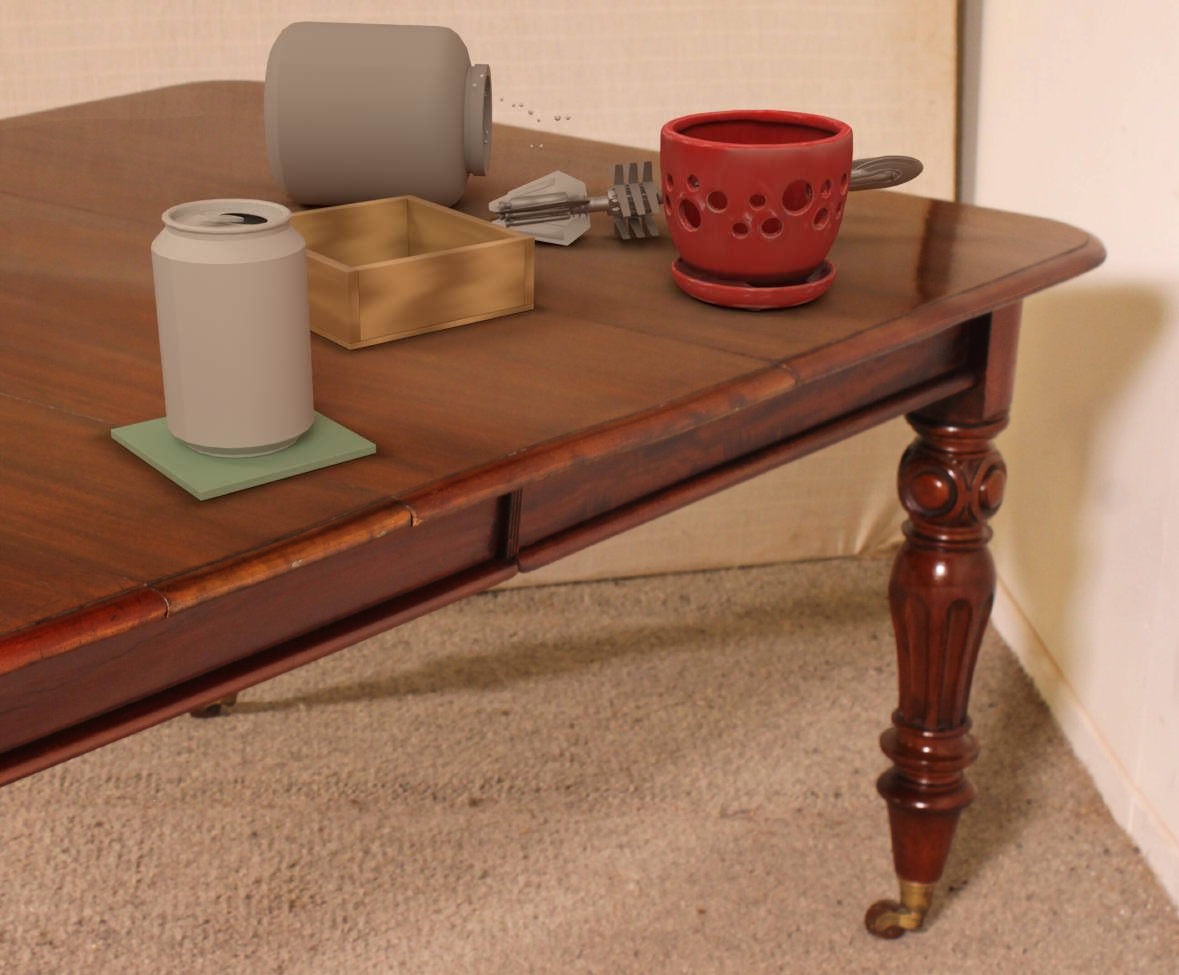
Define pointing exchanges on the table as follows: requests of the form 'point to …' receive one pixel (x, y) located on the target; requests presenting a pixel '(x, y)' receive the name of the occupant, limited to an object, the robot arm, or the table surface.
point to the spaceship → (638, 199)
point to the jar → (375, 113)
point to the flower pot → (754, 204)
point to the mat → (234, 474)
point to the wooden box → (409, 269)
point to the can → (233, 326)
